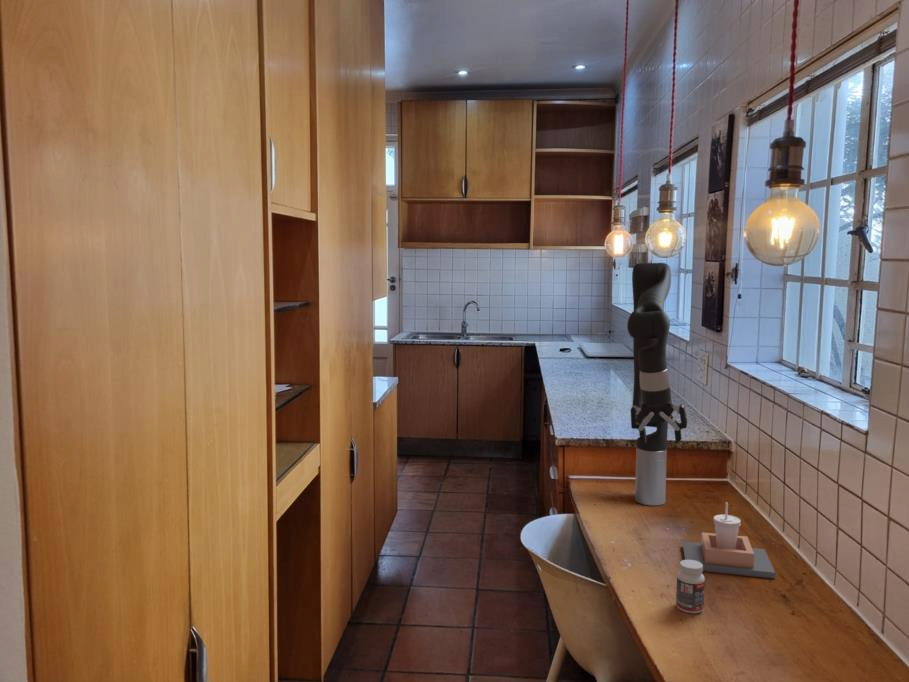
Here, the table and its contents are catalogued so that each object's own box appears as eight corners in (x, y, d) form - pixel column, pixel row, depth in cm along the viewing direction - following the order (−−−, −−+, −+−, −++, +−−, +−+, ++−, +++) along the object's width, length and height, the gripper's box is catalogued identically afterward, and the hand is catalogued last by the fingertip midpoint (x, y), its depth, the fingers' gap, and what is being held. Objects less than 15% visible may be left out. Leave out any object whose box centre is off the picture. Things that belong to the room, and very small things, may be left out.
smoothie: (707, 556, 170) (709, 502, 168) (717, 548, 174) (719, 495, 173) (733, 563, 165) (736, 508, 164) (743, 555, 170) (745, 501, 169)
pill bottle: (700, 617, 143) (702, 572, 142) (673, 610, 146) (674, 565, 145) (706, 605, 148) (707, 562, 147) (679, 599, 151) (681, 556, 150)
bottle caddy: (682, 546, 179) (683, 528, 179) (764, 554, 174) (765, 536, 174) (686, 569, 166) (686, 549, 166) (774, 578, 161) (775, 558, 160)
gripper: (684, 379, 179) (689, 436, 183) (629, 381, 185) (636, 436, 189) (681, 389, 173) (687, 448, 176) (625, 390, 179) (631, 447, 182)
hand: (660, 442), depth 183 cm, fingers open, 8 cm apart
